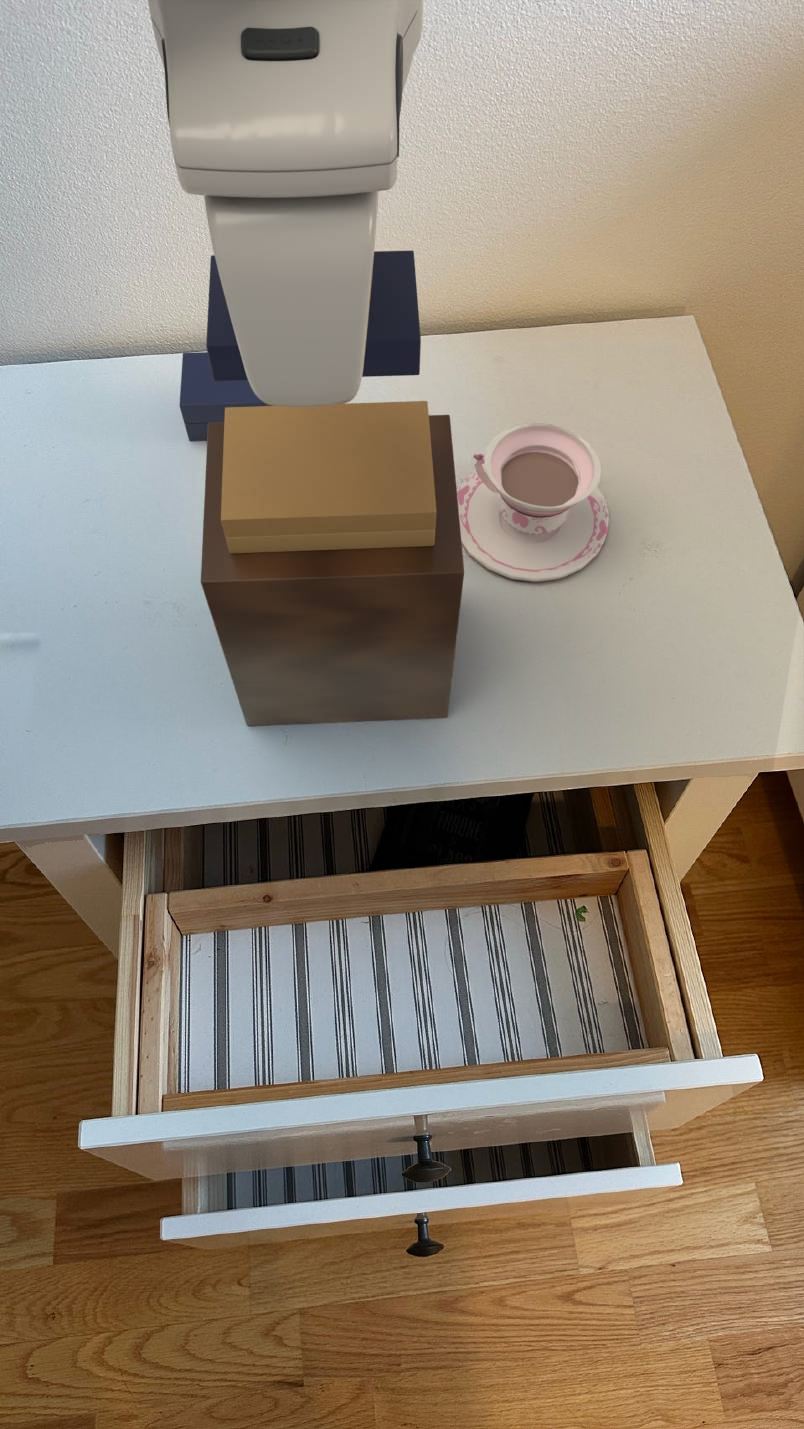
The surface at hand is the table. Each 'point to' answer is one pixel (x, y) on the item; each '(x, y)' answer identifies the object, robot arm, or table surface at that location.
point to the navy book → (387, 333)
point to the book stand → (338, 614)
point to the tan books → (328, 477)
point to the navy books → (209, 395)
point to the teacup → (534, 504)
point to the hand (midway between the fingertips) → (314, 320)
